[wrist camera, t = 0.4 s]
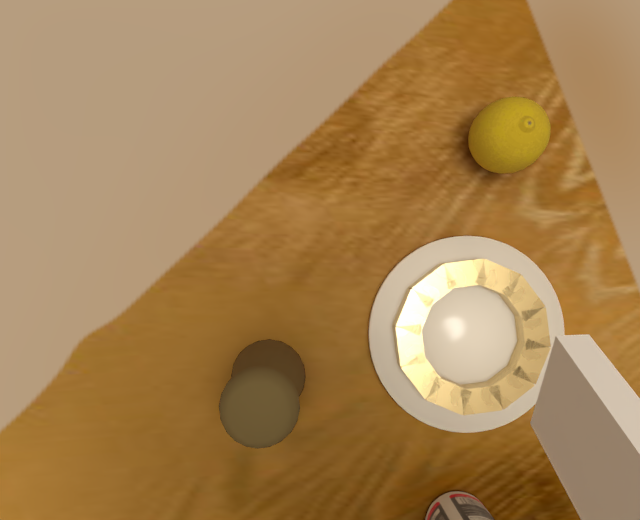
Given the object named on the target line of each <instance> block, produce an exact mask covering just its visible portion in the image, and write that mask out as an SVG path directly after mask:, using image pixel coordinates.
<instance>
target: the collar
mask: <svg viewBox="0 0 640 520" xmlns="http://www.w3.org/2000/svg"><path fill="white" fill-rule="evenodd" d="M474 285H478V286H481V287H483V288H485V289H488V290H490V291H493V292H495V293H497V294H499V296H500V297H501V298H502V300H503V301H504V302H505V304H506V305H507V306H508V307H509V309H510V310H511V311H512V313H513V314H514V318H515V326H516V334H517V343H516V345H515V348H514V350H513V353H512V355H511V357H510V360H509V362H508V365H507V366H506V367H504V368H503V369H502V370H500V371H499V372H498V373H497V374H495V375H494V376H493V377H491V378H490V379H489V380H488V381H485V382H478V383H470V384H463V385H460V384H458V383H455V382H453V381H450V380H448V379H446V378H443V377H441V376H439V375H438V374H437V372H436V371H435V370H434V368H433V367H432V366H431V364H430V363H429V362H428V360H427V359H426V358H425V353H424V345H423V337H422V328H423V325H424V323H425V321H426V318H427V316H428V313H429V311H430V309H431V306H432V304H434V303H435V302H436V301H438V300H439V299H440V298H442V297H443V296H444V295H445V294H447V293H448V292H449V291H451V290H452V289H453V288H458V287H466V286H474ZM408 288H409V289H408ZM408 288H407V290H406V292H405V295H404V297H403V299H402V302H401V304H400V306H399V309H398V311H397V314H396V316H395V318H394V321H393V323H392V324H394V325H392V327H393V335H394V343H395V351H396V359H397V363H398V365H399V367H400V368H401V369H402V371H403V372H404V373H405V375H406V376H407V377H408V379H409V380H410V381H411V383H412V384H413V385H414V387H415V388H416V389H417V390H418V392H419V393H420V394H421V396H422V397H423V398H424V399H425V400H427V401H429V402H431V403H434V404H436V405H439V406H441V407H443V408H446V409H448V410H451V411H453V412H455V413H458V414H460V415H471V414H479V413H486V412H493V411H500V410H502V409H505V408H507V407H508V406H509V405H510V404H512V403H513V402H514V401H516V400H517V399H518V398H519V397H521V396H522V395H523V394H525V393H526V392H527V391H528V390H530V389H531V388H532V387H534V386H535V385H534V384H536V382H537V380H538V378H539V375H540V373H541V370H542V368H543V366H544V363H545V361H546V358H547V356H548V353H549V351H550V349H551V348H549V347H551V343H550V335H549V327H548V319H547V311H546V307H545V305H544V304H543V302H542V301H541V300H540V298H539V297H538V296H537V294H536V293H535V292H534V290H533V289H532V288H531V286H530V285H529V284H528V282H527V281H526V280H525V278H524V277H523V276H522V275H521V274H520V273H517V272H515V271H513V270H510V269H508V268H505V267H503V266H501V265H498V264H496V263H494V262H491V261H489V260H487V259H470V260H463V261H455V262H447V263H439V264H438V265H436V266H435V267H434V268H432V269H431V270H430V271H428V272H427V273H426V274H424V275H423V276H422V277H421V278H419V279H418V280H417V281H415V282H414V283H413V284H411V285H410V286H409V287H408Z"/></svg>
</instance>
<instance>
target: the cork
mask: <svg viewBox="0 0 640 520" xmlns="http://www.w3.org/2000/svg"><path fill="white" fill-rule="evenodd" d="M304 383H305V370H304V365H303V363H302V361H301V358H300V356H299V355H298V354H297V353H296V352H295V351H294V350H293V348H292V347H290V346H288V345H286V344H285V343H283V342H281V341H275V340H262V341H257V342H255V343H253V344H251V345H249V346H247V347H246V348H245V349H244V350H243V351H242V352H241V353H240V354H239V355H238V357H237V359H236V361H235V363H234V365H233V370H232V376H231V379H230V380H229V381H228V383H227V385H226V386H225V388H224V390H223V392H222V394H221V398H220V404H219V411H220V419H221V421H222V423H223V426H224V428H225V430H226V432H227V433H228V434H229V435H230V436H231V437H232V438H233V439H234V440H235V441H237V442H238V443H240V444H242V445H244V446H246V447H252V448H265V447H270V446H272V445H275V444H277V443H279V442H281V441H282V440H283V439H284V438H285V437H286V436H287V435H288V434H289V433H291V432H292V430H293V428H294V426H295V424H296V422H297V420H298V415H299V410H300V404H299V396H300V394H301V392H302V390H303V388H304Z"/></svg>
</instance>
